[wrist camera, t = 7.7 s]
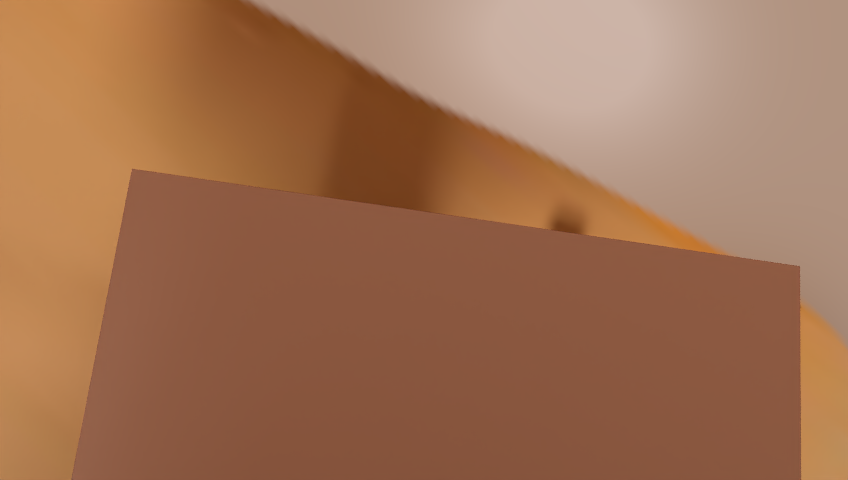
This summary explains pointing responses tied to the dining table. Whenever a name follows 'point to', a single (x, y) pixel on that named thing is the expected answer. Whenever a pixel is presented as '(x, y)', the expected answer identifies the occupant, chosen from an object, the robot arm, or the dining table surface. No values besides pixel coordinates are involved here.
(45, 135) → the dining table surface
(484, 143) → the dining table surface
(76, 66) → the dining table surface
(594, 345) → the terracotta block
